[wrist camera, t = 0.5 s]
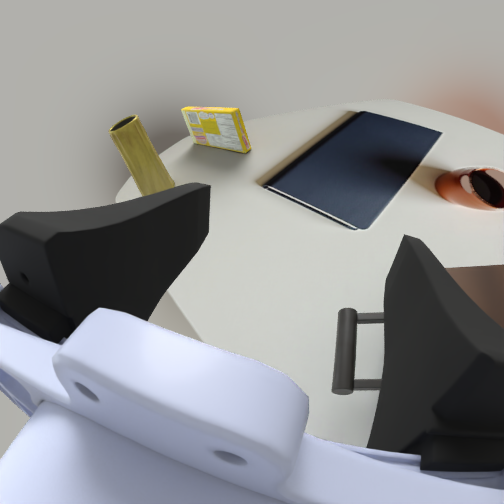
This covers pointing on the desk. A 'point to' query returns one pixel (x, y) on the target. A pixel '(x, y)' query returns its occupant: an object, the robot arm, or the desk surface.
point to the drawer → (351, 352)
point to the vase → (140, 156)
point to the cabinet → (483, 288)
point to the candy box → (217, 127)
